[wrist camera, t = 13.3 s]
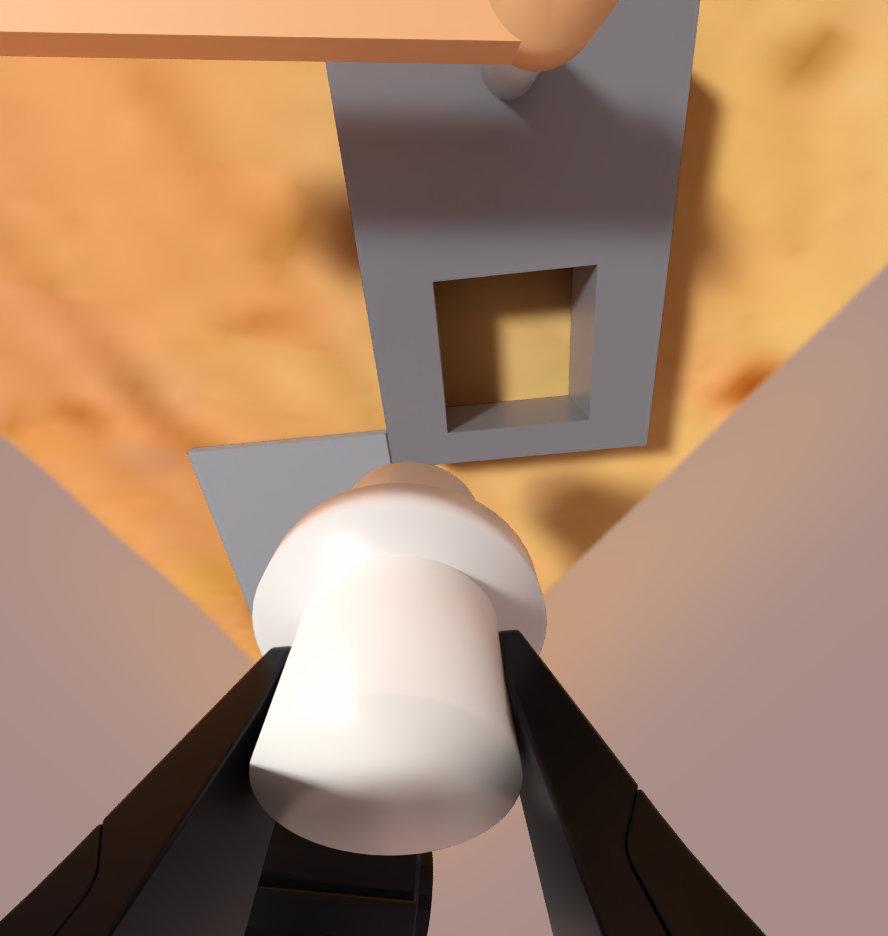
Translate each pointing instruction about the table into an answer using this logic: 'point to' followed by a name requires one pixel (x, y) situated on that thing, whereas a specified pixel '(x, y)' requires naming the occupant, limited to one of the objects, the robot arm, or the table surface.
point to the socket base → (521, 223)
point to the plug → (393, 666)
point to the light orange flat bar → (307, 30)
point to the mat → (277, 489)
